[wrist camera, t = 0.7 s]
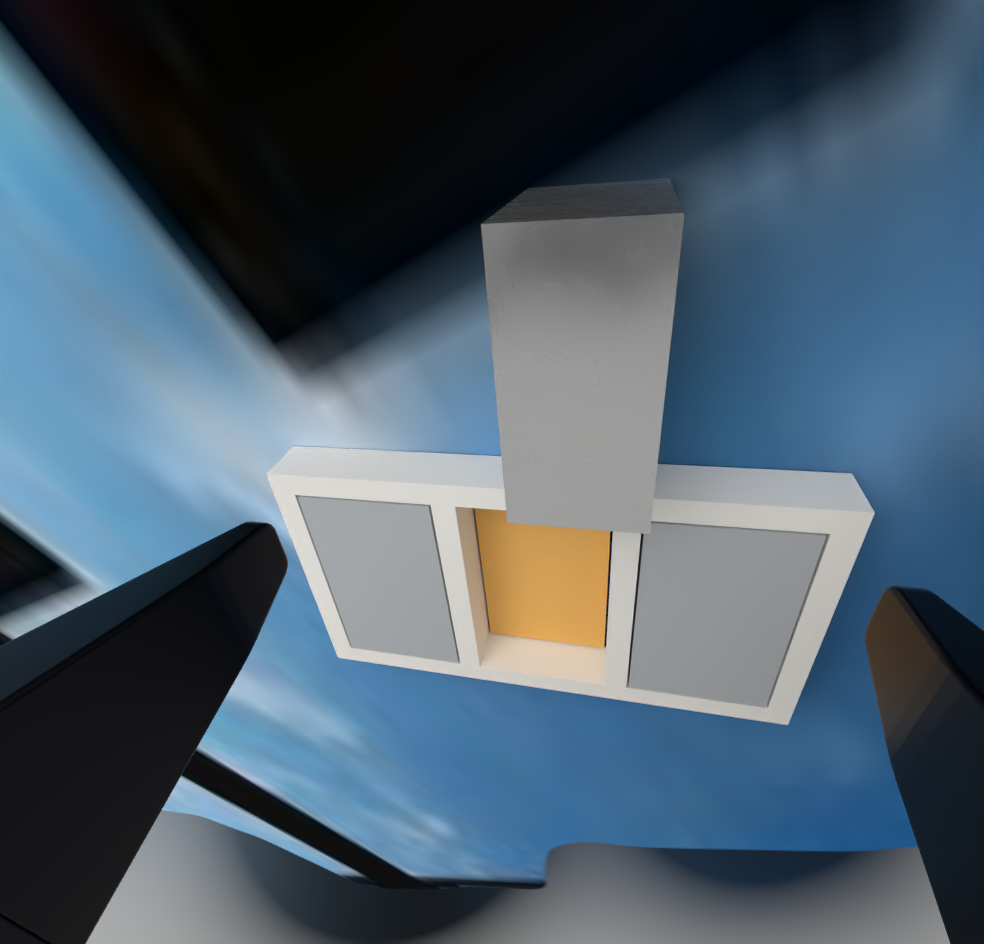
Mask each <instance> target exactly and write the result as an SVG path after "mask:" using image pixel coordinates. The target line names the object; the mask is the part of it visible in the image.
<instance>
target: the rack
mask: <svg viewBox="0 0 984 944" xmlns="http://www.w3.org/2000/svg"><path fill="white" fill-rule="evenodd" d="M266 475H267V478H268V480H269V483H270V485H271V488H272V490H273V493H274V495H275V498H276V501H277V503H278V506H279V508H280V511H281V513H282V516H283V518H284V521H285V523H286V526H287V529H288V531H289V534H290V536H291V539H292V541H293V544H294V546H295V549H296V551H297V554H298V557H299V559H300V562H301V564H302V567H303V569H304V572H305V574H306V577H307V580H308V582H309V585H310V587H311V590H312V592H313V595H314V597H315V600H316V602H317V605H318V608H319V610H320V613H321V615H322V618H323V620H324V623H325V625H326V628H327V630H328V633H329V636H330V638H331V641H332V643H333V646H334V648H335V651H336V653H337V656H338V658H344V659H350V660H357V661H364V662H370V663H377V664H384V665H390V666H397V667H404V668H410V669H417V670H424V671H430V672H437V673H444V674H450V675H457V676H464V677H470V678H477V679H484V680H490V681H497V682H504V683H510V684H517V685H524V686H530V687H537V688H544V689H550V690H557V691H564V692H570V693H577V694H584V695H590V696H597V697H604V698H610V699H617V700H624V701H630V702H637V703H644V704H650V705H657V706H664V707H670V708H677V709H684V710H690V711H697V712H704V713H710V714H717V715H724V716H730V717H737V718H744V719H750V720H757V721H764V722H770V723H777V724H784V725H788V724H789V721H790V719H791V716H792V714H793V711H794V709H795V707H796V704H797V702H798V699H799V697H800V694H801V692H802V689H803V687H804V685H805V682H806V680H807V677H808V675H809V672H810V670H811V667H812V665H813V663H814V660H815V658H816V655H817V653H818V650H819V648H820V645H821V643H822V641H823V638H824V636H825V633H826V631H827V628H828V626H829V624H830V621H831V619H832V616H833V614H834V611H835V609H836V606H837V604H838V602H839V599H840V597H841V594H842V592H843V589H844V587H845V584H846V582H847V580H848V577H849V575H850V572H851V570H852V567H853V565H854V562H855V560H856V558H857V555H858V553H859V550H860V548H861V545H862V543H863V540H864V538H865V536H866V533H867V531H868V528H869V526H870V523H871V521H872V518H873V516H874V514H875V512H874V510H873V509H872V507H871V505H870V503H869V502H868V500H867V498H866V497H865V495H864V493H863V491H862V490H861V488H860V486H859V485H858V483H857V481H856V479H855V478H854V476H853V474H852V473H832V472H812V471H792V470H771V469H751V468H730V467H710V466H690V465H669V464H657V473H656V483H655V492H654V501H653V510H652V520H651V529H650V534H640V533H627V532H615V531H613V537H612V555H611V572H610V590H609V608H608V625H607V643H606V646H604V642H605V623H606V604H607V586H608V567H609V548H610V531H602V530H590V529H577V528H565V527H552V526H540V525H527V524H515V523H507V515H506V503H505V492H504V480H503V469H502V458H501V456H486V455H465V454H445V453H425V452H404V451H384V450H363V449H343V448H323V447H302V446H294V447H293V448H292V449H291V450H290V451H289V452H288V453H287V454H286V455H285V456H283V457H282V458H281V459H280V460H279V461H278V462H277V463H276V464H275V465H274V466H273V467H272V468H271V469H270V470H269V471H268V472H267V473H266ZM474 509H475V514H474ZM475 517H476V522H475ZM476 524H477V529H476ZM477 532H478V537H477ZM478 540H479V545H478ZM479 547H480V552H479ZM480 555H481V560H480ZM481 563H482V567H481ZM482 570H483V575H482ZM483 578H484V583H483ZM484 586H485V590H484ZM485 593H486V598H485ZM486 601H487V605H486ZM487 608H488V613H487ZM488 616H489V621H488ZM489 624H490V628H489Z"/></svg>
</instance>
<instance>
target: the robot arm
mask: <svg viewBox="0 0 984 944" xmlns="http://www.w3.org/2000/svg"><path fill="white" fill-rule="evenodd" d="M287 567H288V561H287V557H286V554H285V552H284V549H283V547H282V544H281V542H280V540H279V537H278V535H277V532H276V530H275V528H274V527H273V526H272V525H271V524H268V523H262V522H245V523H243V524H241V525H239V526H237V527H235V528H233V529H231V530H229V531H227V532H225V533H223V534H221V535H219V536H217V537H215V538H213V539H211V540H209V541H207V542H205V543H203V544H201V545H199V546H197V547H195V548H193V549H191V550H189V551H187V552H185V553H183V554H182V555H180V556H178V557H176V558H174V559H172V560H170V561H168V562H166V563H164V564H162V565H160V566H158V567H156V568H154V569H152V570H150V571H148V572H146V573H144V574H142V575H140V576H138V577H136V578H134V579H132V580H130V581H128V582H126V583H124V584H122V585H120V586H118V587H116V588H114V589H112V590H110V591H108V592H106V593H104V594H103V595H101V596H99V597H97V598H95V599H93V600H91V601H89V602H87V603H85V604H83V605H81V606H79V607H77V608H75V609H73V610H71V611H69V612H67V613H65V614H63V615H61V616H59V617H57V618H55V619H53V620H51V621H49V622H47V623H45V624H43V625H41V626H39V627H37V628H35V629H33V630H31V631H29V632H27V633H25V634H24V635H22V636H20V637H18V638H16V639H14V640H12V641H10V642H8V643H6V644H4V645H2V646H0V944H86V942H87V940H88V938H89V937H90V935H91V933H92V932H93V930H94V927H95V926H96V924H97V923H98V921H99V919H100V917H101V916H102V914H103V912H104V910H105V908H106V907H107V905H108V903H109V901H110V900H111V898H112V896H113V894H114V893H115V891H116V889H117V887H118V886H119V884H120V882H121V880H122V879H123V877H124V875H125V873H126V872H127V870H128V868H129V866H130V865H131V863H132V861H133V859H134V857H135V856H136V854H137V852H138V850H139V849H140V847H141V845H142V843H143V841H144V840H145V838H146V836H147V834H148V833H149V831H150V829H151V827H152V826H153V824H154V822H155V820H156V819H157V817H158V815H159V813H160V812H161V810H162V808H163V806H164V805H165V803H166V801H167V799H168V798H169V796H170V794H171V792H172V790H173V789H174V787H175V785H176V783H177V782H178V780H179V778H180V776H181V775H182V773H183V771H184V769H185V768H186V766H187V764H188V762H189V760H190V759H191V757H192V755H193V753H194V752H195V750H196V748H197V746H198V745H199V743H200V741H201V739H202V738H203V736H204V734H205V732H206V731H207V729H208V727H209V725H210V723H211V722H212V720H213V718H214V716H215V715H216V713H217V711H218V709H219V708H220V706H221V704H222V702H223V701H224V699H225V697H226V695H227V693H228V692H229V690H230V688H231V686H232V685H233V683H234V681H235V679H236V678H237V676H238V674H239V672H240V671H241V669H242V667H243V665H244V663H245V661H246V660H247V658H248V656H249V654H250V652H251V650H252V648H253V646H254V644H255V642H256V640H257V637H258V635H259V633H260V631H261V628H262V626H263V624H264V622H265V619H266V617H267V615H268V613H269V610H270V608H271V606H272V604H273V601H274V599H275V597H276V595H277V592H278V590H279V588H280V586H281V583H282V581H283V579H284V577H285V575H286V572H287ZM865 644H866V649H867V654H868V659H869V664H870V669H871V673H872V678H873V683H874V688H875V693H876V697H877V702H878V707H879V712H880V717H881V721H882V726H883V731H884V736H885V741H886V745H887V749H888V753H889V758H890V762H891V765H892V768H893V771H894V775H895V778H896V781H897V784H898V787H899V790H900V793H901V796H902V799H903V802H904V805H905V808H906V811H907V815H908V818H909V821H910V824H911V827H912V830H913V833H914V836H915V839H916V842H917V845H918V848H919V850H920V854H921V857H922V859H923V863H924V866H925V869H926V872H927V874H928V877H929V881H930V884H931V887H932V889H933V893H934V896H935V898H936V902H937V904H938V908H939V911H940V914H941V917H942V920H943V923H944V925H945V929H946V932H947V935H948V937H949V941H950V943H951V944H984V631H983V630H982V629H980V628H979V627H978V626H976V625H975V624H974V623H972V622H971V621H970V620H968V619H967V618H966V617H965V616H963V615H962V614H961V613H959V612H958V611H957V610H955V609H954V608H953V607H951V606H950V605H949V604H947V603H946V602H945V601H944V600H942V599H941V598H940V597H938V596H937V595H936V594H934V593H933V592H931V591H929V590H927V589H923V588H914V587H904V586H890V587H888V588H887V589H886V590H885V591H884V592H883V594H882V596H881V598H880V600H879V602H878V604H877V606H876V608H875V610H874V613H873V615H872V617H871V619H870V621H869V623H868V625H867V628H866V633H865Z"/></svg>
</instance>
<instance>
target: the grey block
mask: <svg viewBox="0 0 984 944" xmlns="http://www.w3.org/2000/svg"><path fill="white" fill-rule="evenodd" d="M684 216H685V212H684V210H683V208H682V205H681V203H680V201H679V199H678V196H677V194H676V192H675V189H674V187H673V185H672V182H671V180H670V178H667V179H653V180H638V181H624V182H610V183H596V184H581V185H567V186H553V187H538V188H528V189H527V190H525V191H524V192H523V193H521V194H520V195H519V196H518V197H516V198H515V199H514V200H512V201H511V202H510V203H508V204H507V205H506V206H504V207H503V208H502V209H500V210H499V211H498V212H496V213H495V214H494V215H492V216H491V217H490V218H488V219H487V220H486V221H485V222H483V223H482V224H481V230H482V242H483V253H484V264H485V276H486V287H487V299H488V310H489V321H490V333H491V344H492V355H493V367H494V378H495V390H496V401H497V412H498V424H499V435H500V446H501V458H502V469H503V480H504V492H505V503H506V515H507V523H515V524H527V525H540V526H552V527H565V528H577V529H590V530H602V531H615V532H627V533H640V534H650V529H651V520H652V510H653V501H654V492H655V483H656V473H657V464H658V455H659V446H660V437H661V427H662V418H663V409H664V400H665V391H666V381H667V372H668V363H669V354H670V345H671V335H672V326H673V317H674V308H675V298H676V289H677V280H678V271H679V262H680V252H681V243H682V234H683V225H684Z"/></svg>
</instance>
